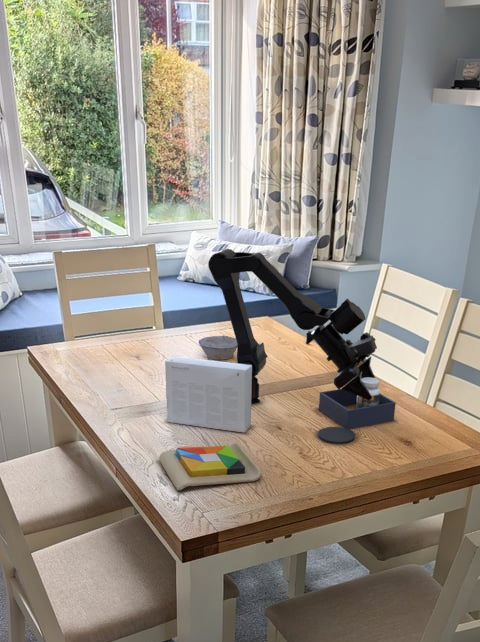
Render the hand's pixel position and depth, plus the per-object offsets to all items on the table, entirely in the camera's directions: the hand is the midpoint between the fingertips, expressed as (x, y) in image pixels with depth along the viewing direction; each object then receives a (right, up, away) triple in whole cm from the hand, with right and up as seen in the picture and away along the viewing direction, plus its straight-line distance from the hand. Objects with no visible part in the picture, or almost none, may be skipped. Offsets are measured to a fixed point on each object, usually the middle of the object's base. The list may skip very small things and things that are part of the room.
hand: (374, 392), depth 190 cm
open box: (-4, -5, +5) cm, 8 cm away
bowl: (-41, +19, +46) cm, 64 cm away
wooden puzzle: (-41, -21, -24) cm, 52 cm away
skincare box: (-42, -8, -1) cm, 43 cm away
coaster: (-10, -12, -7) cm, 17 cm away
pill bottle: (-1, -6, +4) cm, 7 cm away
